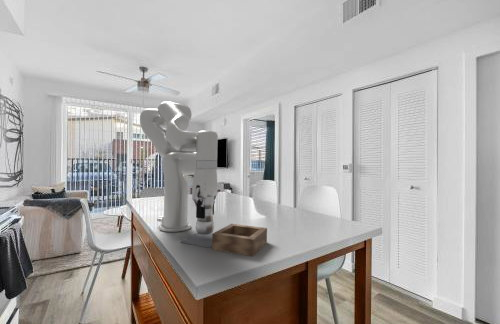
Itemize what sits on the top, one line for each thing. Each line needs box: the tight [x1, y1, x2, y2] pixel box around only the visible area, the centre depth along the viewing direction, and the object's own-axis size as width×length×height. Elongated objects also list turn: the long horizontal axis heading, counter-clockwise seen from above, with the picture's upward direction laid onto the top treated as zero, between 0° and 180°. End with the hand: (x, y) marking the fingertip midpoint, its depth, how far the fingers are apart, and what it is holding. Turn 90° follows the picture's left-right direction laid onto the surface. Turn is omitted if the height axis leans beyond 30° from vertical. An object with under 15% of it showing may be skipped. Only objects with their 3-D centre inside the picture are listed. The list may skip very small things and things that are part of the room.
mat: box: [180, 232, 213, 249], centre depth 86 cm, size 12×12×1 cm
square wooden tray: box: [211, 223, 268, 257], centre depth 81 cm, size 14×14×5 cm
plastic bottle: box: [195, 188, 215, 235], centre depth 86 cm, size 6×7×20 cm
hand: (205, 215), depth 86 cm, fingers closed on plastic bottle, 5 cm apart
